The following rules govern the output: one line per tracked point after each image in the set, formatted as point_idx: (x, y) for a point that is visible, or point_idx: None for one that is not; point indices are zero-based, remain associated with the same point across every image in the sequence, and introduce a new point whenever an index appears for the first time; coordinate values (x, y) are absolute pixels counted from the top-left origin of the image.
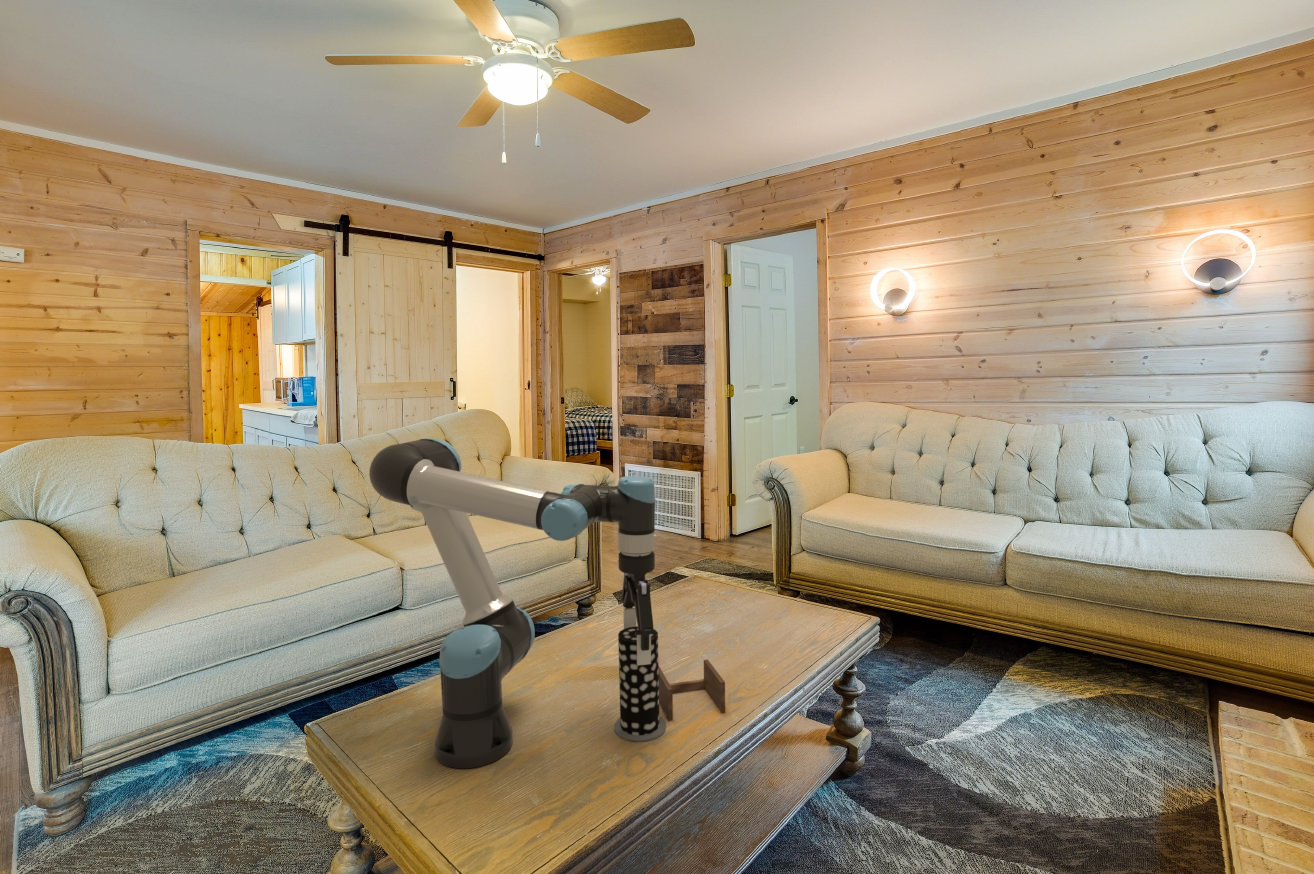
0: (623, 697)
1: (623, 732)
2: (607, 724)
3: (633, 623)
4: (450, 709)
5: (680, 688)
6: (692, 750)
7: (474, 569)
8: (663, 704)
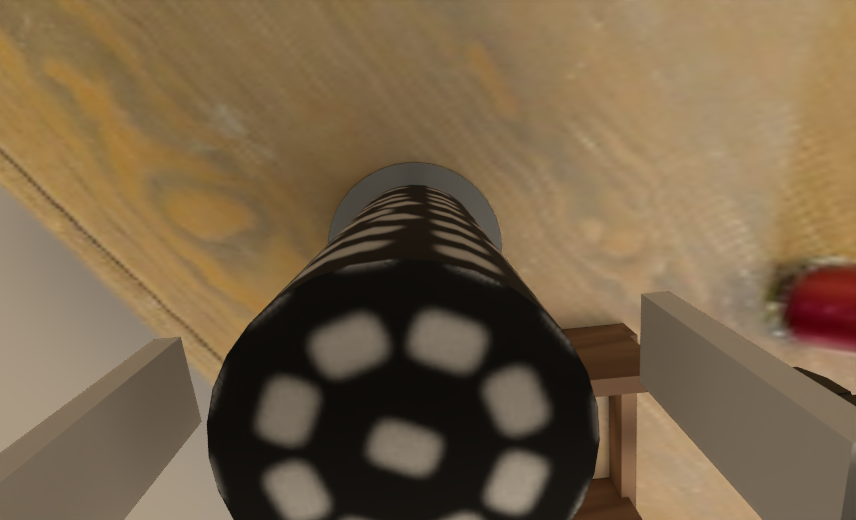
0: (366, 209)
1: (377, 191)
2: (455, 141)
3: (705, 429)
4: None
5: (615, 412)
6: None
7: None
8: None
